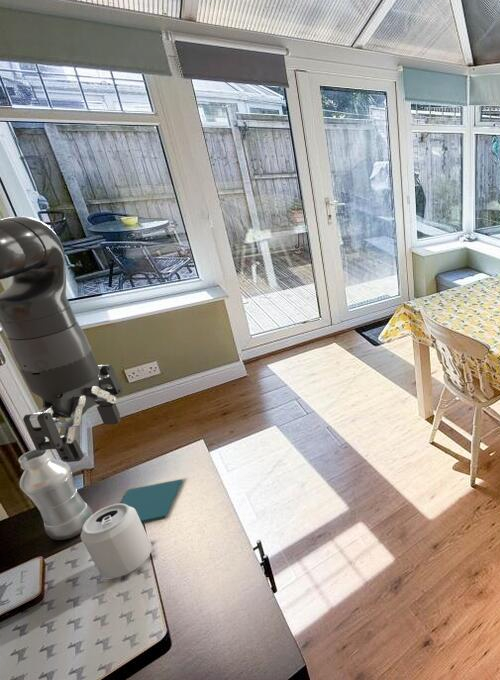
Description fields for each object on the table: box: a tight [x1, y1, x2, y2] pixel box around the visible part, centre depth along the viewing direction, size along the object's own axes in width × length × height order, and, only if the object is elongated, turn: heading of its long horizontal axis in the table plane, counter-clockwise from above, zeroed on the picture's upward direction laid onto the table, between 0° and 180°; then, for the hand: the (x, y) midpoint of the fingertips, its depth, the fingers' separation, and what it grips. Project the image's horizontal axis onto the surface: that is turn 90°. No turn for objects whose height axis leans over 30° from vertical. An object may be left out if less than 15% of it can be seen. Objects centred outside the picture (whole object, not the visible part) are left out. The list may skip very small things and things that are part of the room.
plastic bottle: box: [18, 448, 94, 541], centre depth 79 cm, size 6×7×20 cm
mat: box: [120, 479, 183, 524], centre depth 89 cm, size 10×10×1 cm
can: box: [79, 502, 153, 580], centre depth 76 cm, size 8×8×12 cm
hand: (94, 440), depth 67 cm, fingers open, 8 cm apart
